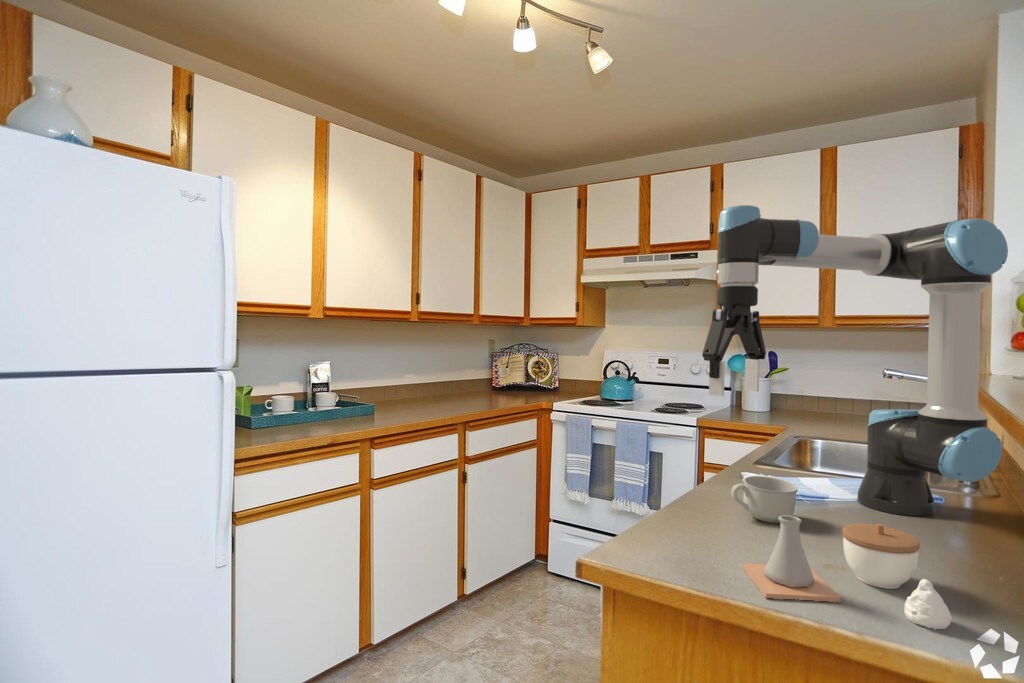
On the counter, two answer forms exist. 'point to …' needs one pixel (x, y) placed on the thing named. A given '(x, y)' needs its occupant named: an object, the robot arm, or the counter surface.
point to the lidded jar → (880, 554)
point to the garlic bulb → (927, 607)
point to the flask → (789, 556)
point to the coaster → (780, 591)
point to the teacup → (766, 497)
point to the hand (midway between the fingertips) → (734, 393)
